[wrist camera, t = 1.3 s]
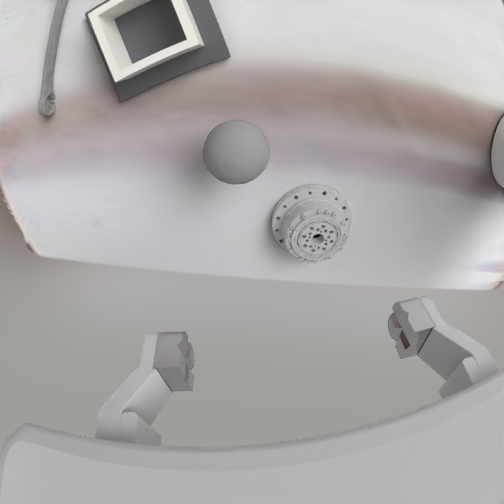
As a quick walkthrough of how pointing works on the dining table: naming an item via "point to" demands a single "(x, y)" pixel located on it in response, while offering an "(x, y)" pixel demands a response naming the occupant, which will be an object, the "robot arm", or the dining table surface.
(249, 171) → the light bulb
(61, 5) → the combination wrench
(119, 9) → the lamp base
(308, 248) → the mechanical component
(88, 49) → the dining table surface
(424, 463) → the robot arm
